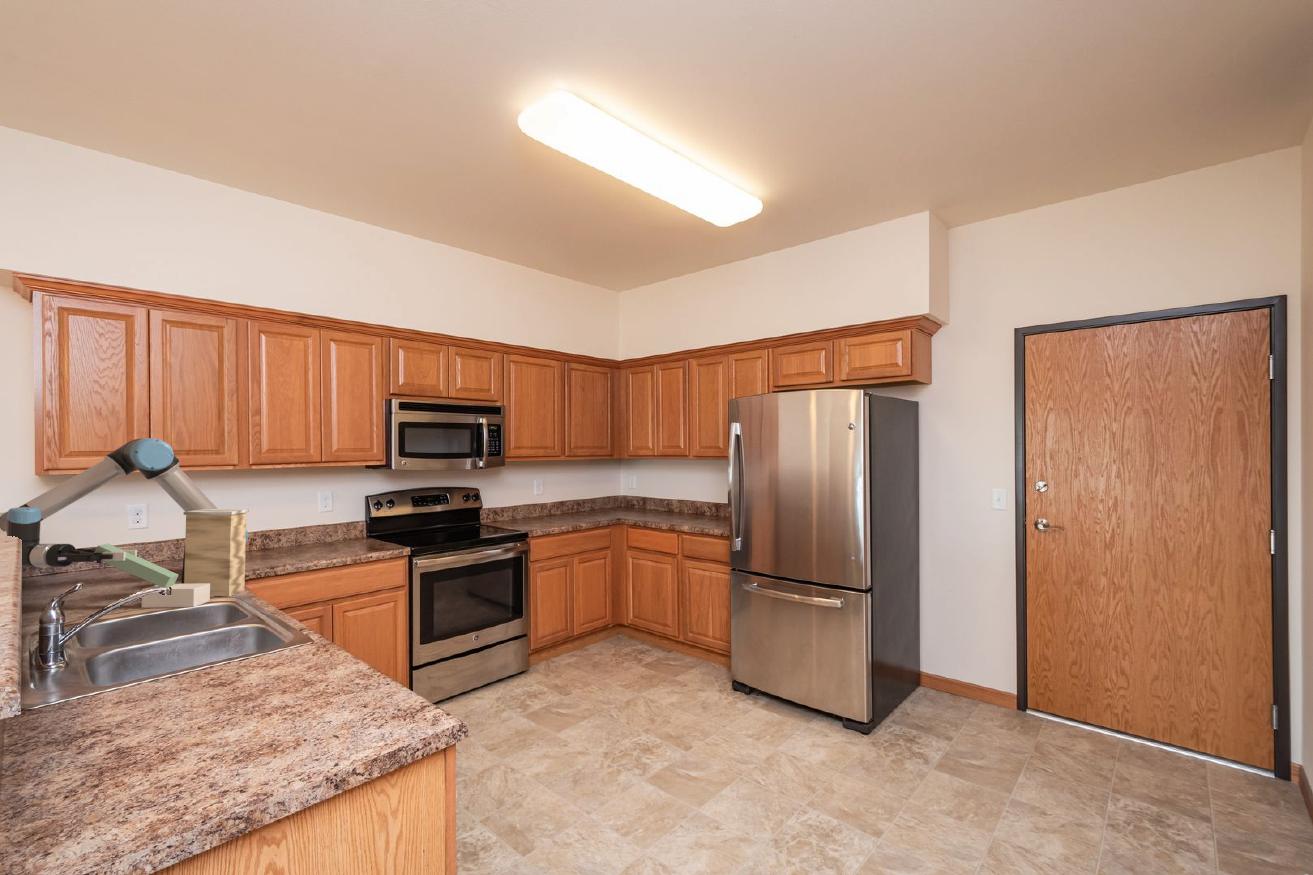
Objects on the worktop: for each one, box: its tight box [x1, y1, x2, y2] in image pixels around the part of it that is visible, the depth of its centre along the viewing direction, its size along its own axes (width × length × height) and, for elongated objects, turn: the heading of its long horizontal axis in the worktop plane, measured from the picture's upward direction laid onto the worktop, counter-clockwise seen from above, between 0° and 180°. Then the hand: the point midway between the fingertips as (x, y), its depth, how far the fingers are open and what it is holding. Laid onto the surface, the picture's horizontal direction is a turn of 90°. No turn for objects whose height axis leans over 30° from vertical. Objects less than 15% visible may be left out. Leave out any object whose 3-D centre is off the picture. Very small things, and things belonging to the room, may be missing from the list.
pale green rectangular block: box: [94, 543, 180, 587], centre depth 197 cm, size 4×25×4 cm, turn 95°
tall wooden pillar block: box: [183, 508, 249, 598], centre depth 213 cm, size 10×16×30 cm, turn 95°
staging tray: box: [141, 583, 211, 609], centre depth 199 cm, size 8×16×6 cm, turn 95°
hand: (130, 555), depth 197 cm, fingers closed on pale green rectangular block, 4 cm apart
